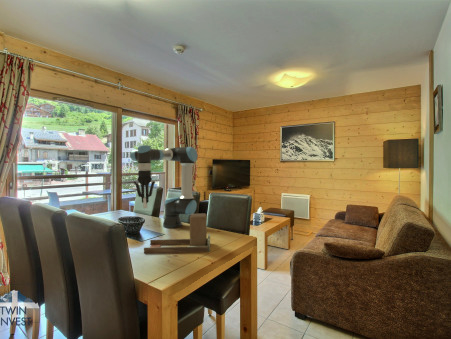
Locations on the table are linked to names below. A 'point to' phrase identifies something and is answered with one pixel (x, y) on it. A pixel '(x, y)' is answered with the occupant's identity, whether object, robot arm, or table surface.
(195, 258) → the table surface
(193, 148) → the robot arm
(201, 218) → the wooden block
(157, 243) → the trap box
